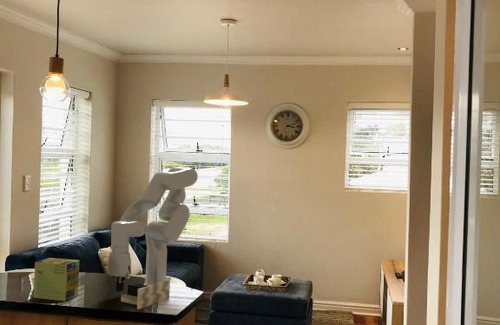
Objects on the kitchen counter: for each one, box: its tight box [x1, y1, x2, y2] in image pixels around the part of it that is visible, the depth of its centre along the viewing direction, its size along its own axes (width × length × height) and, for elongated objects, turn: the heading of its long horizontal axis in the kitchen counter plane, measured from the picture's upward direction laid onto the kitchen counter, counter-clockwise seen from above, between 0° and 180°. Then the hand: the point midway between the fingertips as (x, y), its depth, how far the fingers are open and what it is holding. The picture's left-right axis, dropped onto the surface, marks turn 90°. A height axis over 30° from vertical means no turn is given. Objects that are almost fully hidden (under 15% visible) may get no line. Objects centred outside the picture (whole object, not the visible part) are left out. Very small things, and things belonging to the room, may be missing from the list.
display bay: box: [120, 279, 171, 310], centre depth 220 cm, size 21×13×8 cm, turn 154°
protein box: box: [32, 257, 80, 302], centre depth 222 cm, size 10×15×16 cm
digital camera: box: [127, 282, 148, 297], centre depth 220 cm, size 10×5×7 cm, turn 61°
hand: (119, 290), depth 227 cm, fingers closed
